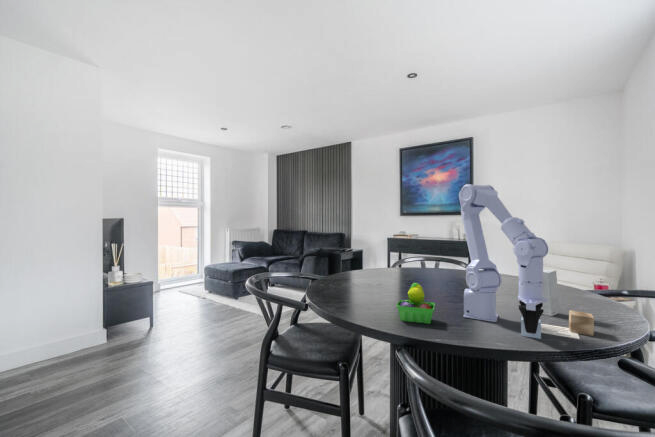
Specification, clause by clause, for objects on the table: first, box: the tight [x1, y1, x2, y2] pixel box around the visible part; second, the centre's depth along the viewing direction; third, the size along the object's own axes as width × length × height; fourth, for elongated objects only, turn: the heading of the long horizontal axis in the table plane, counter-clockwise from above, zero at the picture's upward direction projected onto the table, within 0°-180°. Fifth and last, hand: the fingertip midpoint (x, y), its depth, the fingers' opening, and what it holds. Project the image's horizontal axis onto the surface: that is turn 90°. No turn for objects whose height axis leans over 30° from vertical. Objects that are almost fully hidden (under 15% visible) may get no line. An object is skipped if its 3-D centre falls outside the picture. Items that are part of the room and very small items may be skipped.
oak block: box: [568, 309, 595, 337], centre depth 88 cm, size 5×5×5 cm
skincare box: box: [541, 268, 560, 317], centre depth 106 cm, size 8×6×15 cm
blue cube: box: [520, 314, 542, 340], centre depth 85 cm, size 4×4×4 cm
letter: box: [541, 323, 581, 340], centre depth 89 cm, size 12×9×1 cm
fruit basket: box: [396, 282, 436, 325], centre depth 99 cm, size 11×9×11 cm
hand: (530, 330), depth 85 cm, fingers closed on blue cube, 4 cm apart
